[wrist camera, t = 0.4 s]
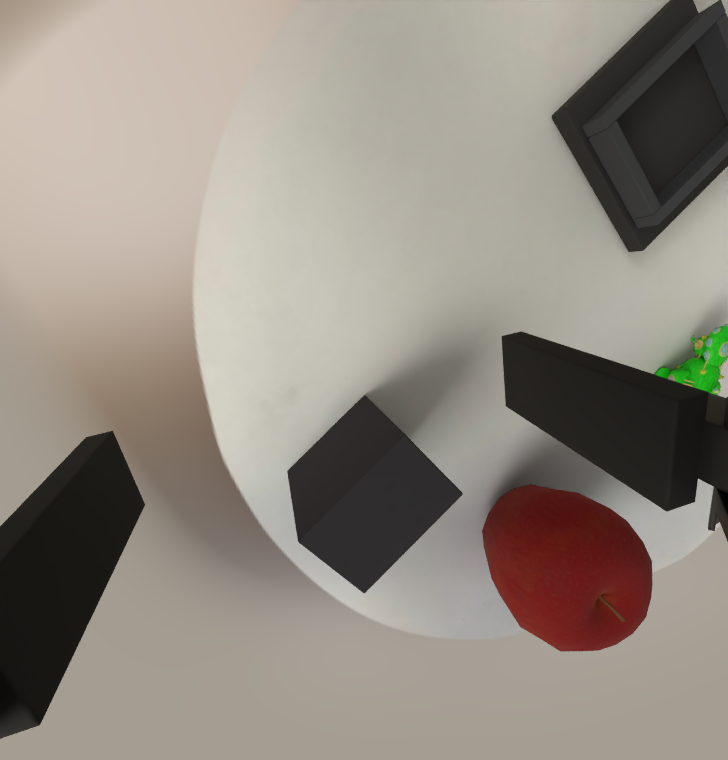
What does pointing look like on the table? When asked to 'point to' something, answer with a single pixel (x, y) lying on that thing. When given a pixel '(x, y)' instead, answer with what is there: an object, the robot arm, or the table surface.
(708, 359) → the crocodile figurine
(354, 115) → the table surface
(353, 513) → the pad block
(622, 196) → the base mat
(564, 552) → the apple
